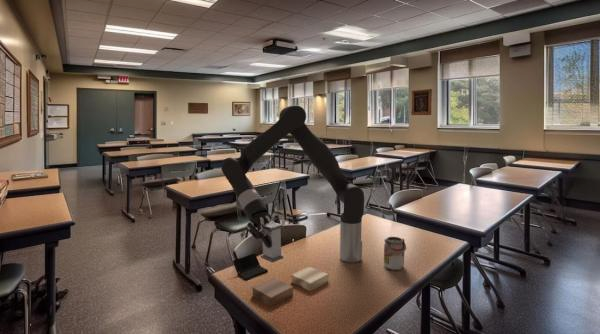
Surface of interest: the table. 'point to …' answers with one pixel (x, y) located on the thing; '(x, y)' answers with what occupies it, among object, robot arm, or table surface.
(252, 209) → the robot arm
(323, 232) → the table surface
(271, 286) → the stand
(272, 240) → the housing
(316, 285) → the stand
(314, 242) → the table surface
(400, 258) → the beverage can
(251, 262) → the handheld gaming console
